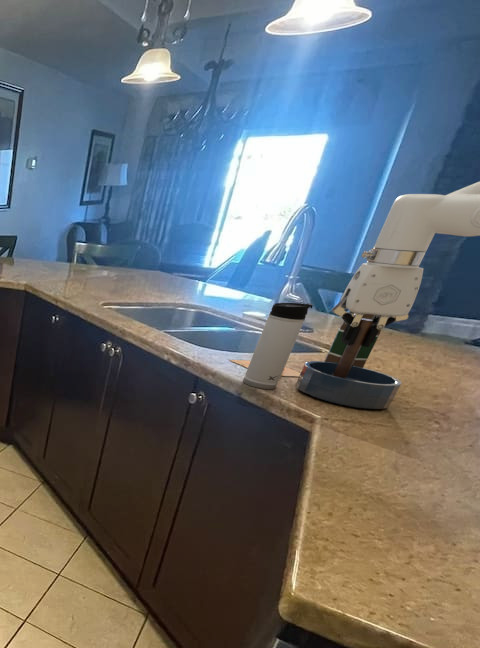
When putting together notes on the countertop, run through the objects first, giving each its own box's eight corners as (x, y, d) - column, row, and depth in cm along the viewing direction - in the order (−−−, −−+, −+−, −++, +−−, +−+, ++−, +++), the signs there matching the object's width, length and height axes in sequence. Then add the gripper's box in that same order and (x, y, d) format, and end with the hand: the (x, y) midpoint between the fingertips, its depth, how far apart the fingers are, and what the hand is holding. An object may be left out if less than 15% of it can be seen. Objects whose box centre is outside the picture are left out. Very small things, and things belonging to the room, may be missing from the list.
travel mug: (276, 392, 113) (313, 306, 105) (241, 384, 117) (274, 301, 109) (278, 385, 117) (313, 302, 109) (243, 378, 121) (275, 297, 113)
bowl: (401, 405, 108) (415, 380, 105) (366, 415, 102) (379, 389, 100) (316, 381, 121) (326, 358, 118) (280, 388, 115) (290, 364, 113)
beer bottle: (366, 378, 124) (414, 283, 115) (328, 373, 127) (372, 280, 117) (350, 369, 131) (394, 278, 121) (314, 365, 133) (354, 275, 124)
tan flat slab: (263, 375, 123) (270, 359, 122) (228, 360, 135) (233, 345, 133) (310, 377, 124) (317, 361, 122) (271, 361, 135) (277, 346, 133)
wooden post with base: (355, 386, 111) (387, 321, 105) (344, 388, 109) (375, 323, 103) (328, 378, 115) (357, 316, 109) (316, 381, 113) (345, 317, 107)
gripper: (355, 257, 100) (317, 343, 107) (459, 264, 95) (412, 354, 102) (336, 254, 107) (302, 335, 114) (433, 259, 101) (391, 344, 109)
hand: (354, 343), depth 108 cm, fingers closed on wooden post with base
